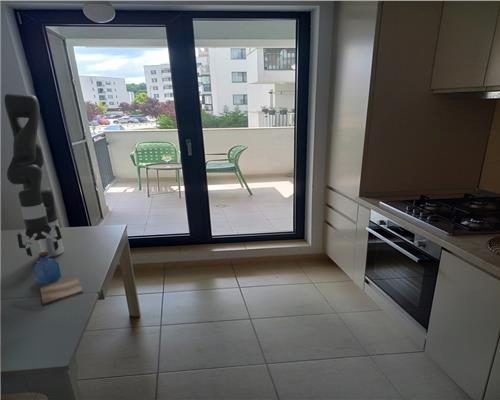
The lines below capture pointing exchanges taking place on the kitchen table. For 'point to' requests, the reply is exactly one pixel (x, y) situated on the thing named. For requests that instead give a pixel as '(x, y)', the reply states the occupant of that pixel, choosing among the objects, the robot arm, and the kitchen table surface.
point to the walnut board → (60, 290)
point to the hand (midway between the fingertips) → (43, 252)
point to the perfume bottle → (46, 269)
